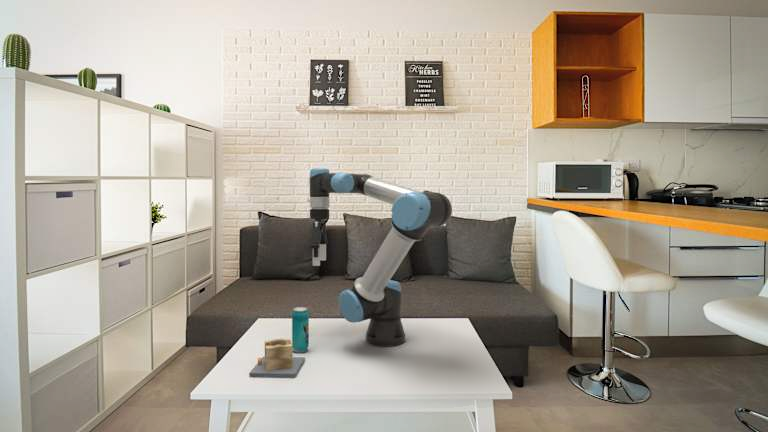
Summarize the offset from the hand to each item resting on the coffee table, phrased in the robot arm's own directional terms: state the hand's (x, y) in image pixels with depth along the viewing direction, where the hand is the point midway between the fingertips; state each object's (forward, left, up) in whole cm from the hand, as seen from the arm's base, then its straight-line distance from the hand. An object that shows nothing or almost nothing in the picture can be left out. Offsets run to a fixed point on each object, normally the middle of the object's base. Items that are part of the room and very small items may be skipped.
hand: (319, 263), depth 176 cm
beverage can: (+4, +17, -29) cm, 34 cm away
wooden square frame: (+7, +34, -28) cm, 44 cm away
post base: (+7, +34, -29) cm, 45 cm away
